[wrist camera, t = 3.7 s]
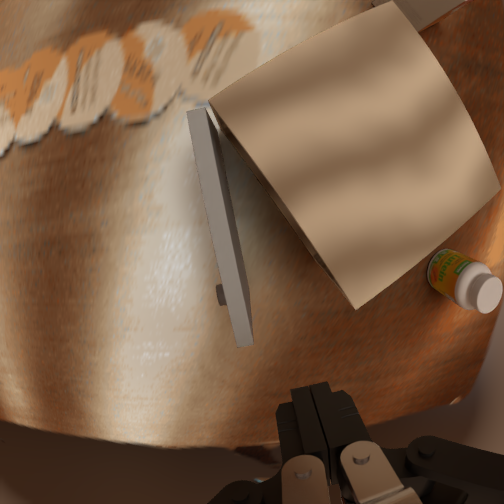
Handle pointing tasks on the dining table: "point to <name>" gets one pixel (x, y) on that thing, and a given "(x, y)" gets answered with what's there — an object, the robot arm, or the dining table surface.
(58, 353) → the dining table surface
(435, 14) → the small box
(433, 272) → the supplement bottle
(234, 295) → the door
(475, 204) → the cabinet
